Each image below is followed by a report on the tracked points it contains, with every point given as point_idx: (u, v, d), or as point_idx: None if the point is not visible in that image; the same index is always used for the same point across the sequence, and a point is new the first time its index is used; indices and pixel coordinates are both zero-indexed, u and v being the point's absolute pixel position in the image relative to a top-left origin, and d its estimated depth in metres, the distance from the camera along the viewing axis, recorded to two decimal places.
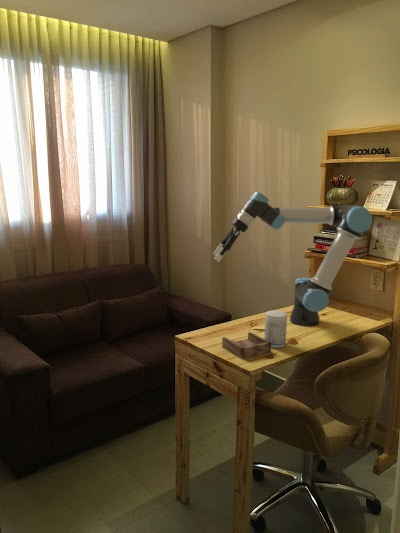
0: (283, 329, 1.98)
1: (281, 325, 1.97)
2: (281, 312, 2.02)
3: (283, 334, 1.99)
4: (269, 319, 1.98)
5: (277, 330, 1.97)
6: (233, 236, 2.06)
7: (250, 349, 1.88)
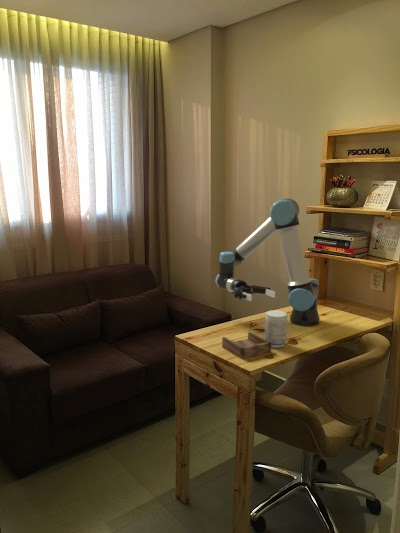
0: (283, 329, 1.98)
1: (281, 325, 1.97)
2: (281, 312, 2.02)
3: (283, 334, 1.99)
4: (269, 319, 1.98)
5: (277, 330, 1.97)
6: (233, 292, 2.16)
7: (250, 349, 1.88)
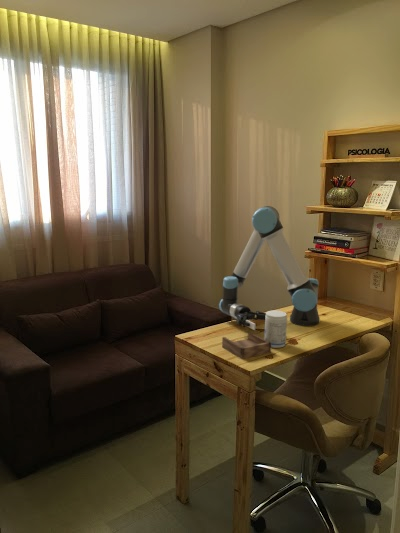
0: (283, 329, 1.98)
1: (281, 325, 1.97)
2: (281, 312, 2.02)
3: (283, 334, 1.99)
4: (269, 319, 1.98)
5: (277, 330, 1.97)
6: (236, 319, 2.14)
7: (250, 349, 1.88)
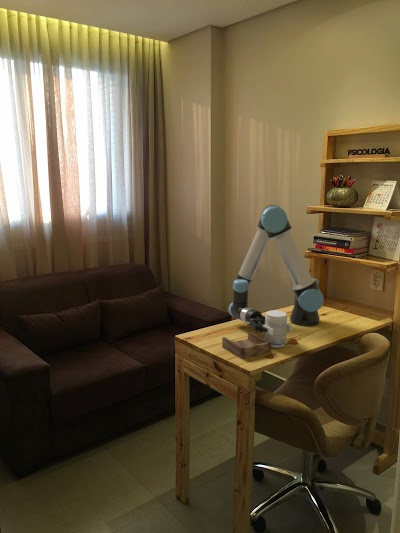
0: (283, 329, 1.98)
1: (281, 325, 1.97)
2: (281, 312, 2.02)
3: (283, 334, 1.99)
4: (269, 319, 1.98)
5: (277, 330, 1.97)
6: (250, 324, 2.07)
7: (250, 349, 1.88)
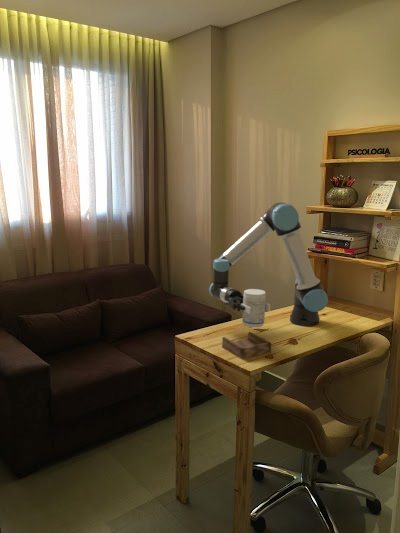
0: (261, 308, 1.92)
1: (258, 304, 1.91)
2: (260, 290, 1.96)
3: (261, 313, 1.92)
4: (247, 297, 1.92)
5: (254, 309, 1.91)
6: (228, 303, 2.01)
7: (250, 349, 1.88)
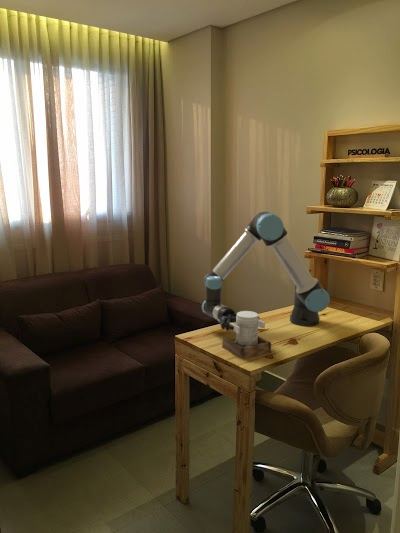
0: (254, 331, 1.91)
1: (251, 327, 1.90)
2: (252, 313, 1.95)
3: (254, 335, 1.92)
4: (240, 320, 1.91)
5: (247, 331, 1.90)
6: (219, 322, 2.00)
7: (250, 349, 1.88)
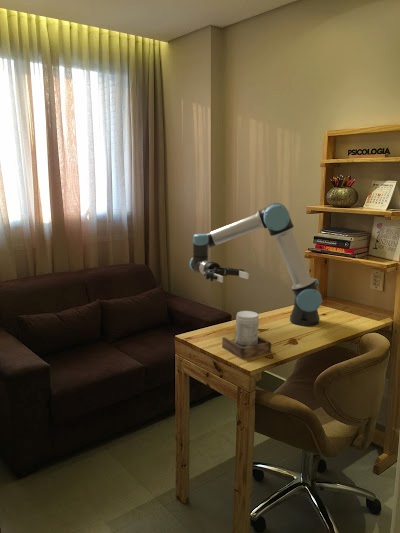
0: (254, 330, 1.91)
1: (251, 326, 1.90)
2: (252, 313, 1.95)
3: (254, 335, 1.92)
4: (240, 320, 1.91)
5: (247, 331, 1.90)
6: (205, 274, 2.07)
7: (250, 349, 1.88)
